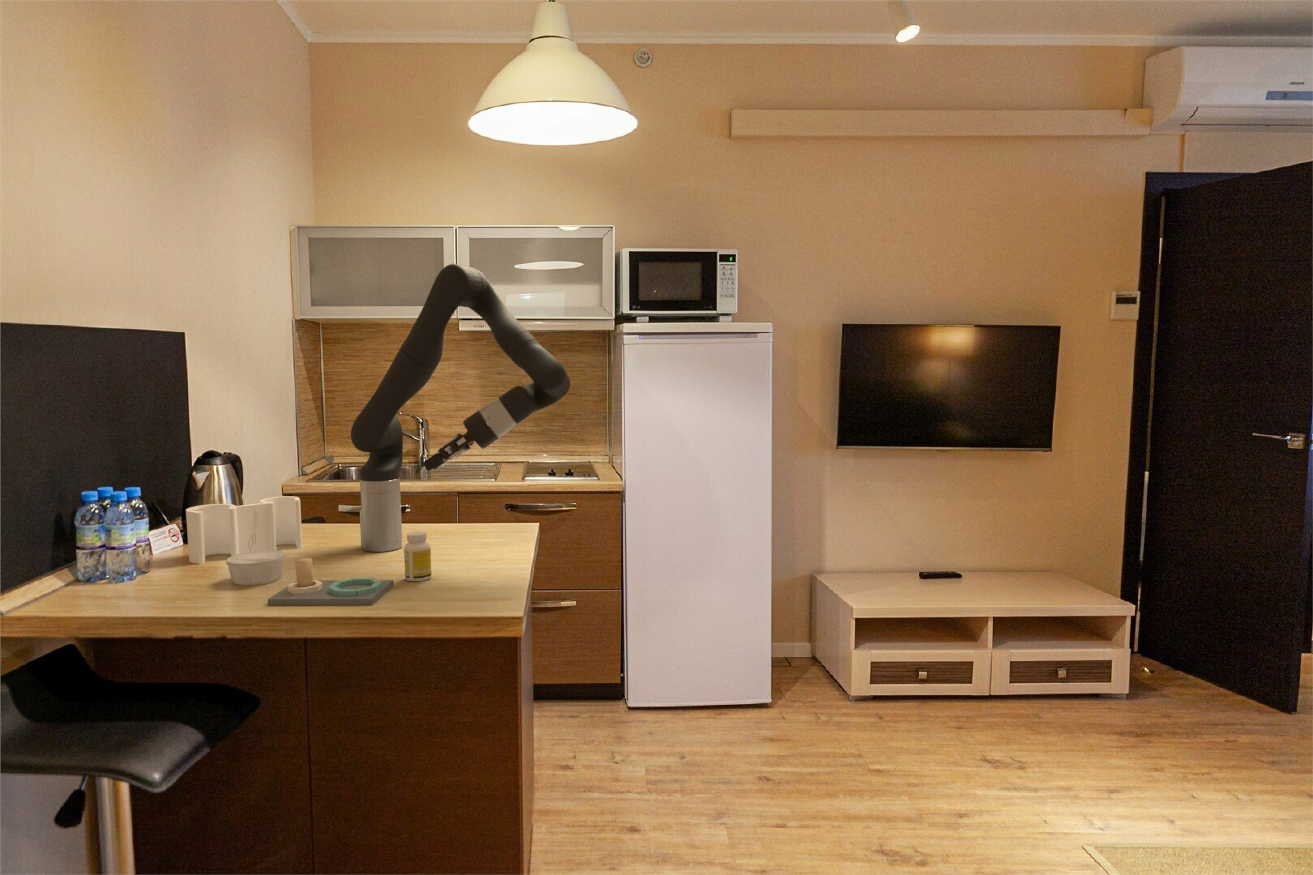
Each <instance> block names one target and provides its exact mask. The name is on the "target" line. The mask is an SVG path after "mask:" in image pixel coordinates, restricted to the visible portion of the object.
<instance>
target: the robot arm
mask: <svg viewBox="0 0 1313 875" xmlns="http://www.w3.org/2000/svg"><path fill="white" fill-rule="evenodd" d="M459 307H463V308H469V309H470V310H471V311H472V312H474V313H476V314H477V315H478V316H480V318H482V319H483V321H484V322H485V323H486V324H487V326H488V327H489V329H490V330H491V331H490V332H491V333H492V335H493V337H494V339H495V341H496V344H497V345H498V346H499V347H500V349H501V350H502V351H503V352H504V354H505V355H506V356H507V357H508V358H509V359H510V360H511V361H512V362H513V363H514V364H515V365H516V366H517V367H518V368H519V369H521V370H523V371H524V372H525V373H526V375H527V376H529V378H530V379H531V380H532V382H531V383H529V384H527V385H525V386H521V385H517V386H514V387H512V388H510V389H509V390H508V391H506V392H505V393H503V394H502V395H500V396H499V397H498V398H496V399H494V400H493V401H490V402H488V403H487V404H485V405H484V406H482V407H481V408H480V409H478V410H477V411H475V412H473V414H471V415H469V416H468V417H466V419H464V420H463V422H462V424H463V425H464V428H465V429H466V432H465V433H464V434H462V433H457V434H456V435H454V436H453V437H452V438H451V439H450V440H449V441H447V442H446V443H444V445H443V446H442V447H440V448H439V449H438V450H437V451H436V453H434V454H432V456H430V457H429V458H427V459H426V460H424V461H423V462H422V465H423V467H424V468H425V470H426V471H428V472H429V471H432V470H436V469H437V468H439V467H441V465H443V464H445V463H446V462H448V461H450V460H452V459H453V458H454V459H455V458H457V457H459V456H460V455H462V454H464V453H466V452H468V451H469V450H471V446H473V445H474V443H476V444H477V445H478V446H479V448H481V449H486V448H487V447H489V446H490V445H492V444H493V443H494V442H496V441H497V440H499V439H500V438H501V437H503V436H505V435H506V434H507V433H509V432H510V431H511V430H513V428H514V427H515V426H517V425H519V423H521V422H523V421H524V420H525V419H526V418H528V417H529V416H531V415H532V414H534V413H535V412H538V411H540V410H543V409H544V408H547V407H549V406H551V405H553V404H555V403H557V402H558V401H560V400H561V399H563V398H564V397H565V396H566V395H567V393H568V392H569V390H570V389H571V388H570V387H571V380H570V377H569V375H568V373H567V371H566V368H565V367H564V366H563V365H562V363H561V362H560V361H559V360H558V359H557V358H556V357H555V356H553V355H552V353H550V352H549V351H547V349H545V348H544V347H542V345H541V344H540V343H539V342H538V340H537V339H536V338H535V337H534V336H533V335H532V334H531V333H530V332H529V331H528V330H527V329H526V328H525V327H524V325H522V324H521V323H520V321H519V320H518V319H517V318H516V317H515V316H514V315H513V314H512V313H511V311H510V310H509V308H508V307H507V306H506V305H505V303H504V301H503V300H502V299H501V298H500V296H499V295H498V294H497V292H496V291H495V289H494V288H493V286H492V284H491V282H489V280H488V279H487V277H486V276H485V274H484V273H482V272H481V271H480V270H479V269H477V268H474V267H472V266H466V265H463V264H459V263H450V264H448V265H446V266H443V268H441V270H440V271H439V273H438V274H437V276H436V278H435V280H434V282H433V283H432V286H431V289H430V291H429V294H427V298H426V301H425V303H424V305H423V307H422V309H421V311H420V313H419V314H418V317H417V318H416V320H415V321H414V324H413V326H412V327H411V329H410V331H409V332H408V335H407V336H406V338H405V340H404V342H403V343H402V344H401V346H400V348H399V349H398V351H397V353H396V355H395V357H394V358H393V361H392V362H391V364H390V366H389V368H388V370H387V372H386V373H385V374H384V377H382V380H381V381H380V383H379V384H378V386H377V388H376V390H375V392H374V393H373V395H372V396H371V397H370V399H369V400H368V402H367V403H366V404H365V406H364V407H363V408H362V410H361V411H360V413H359V414H358V415H357V417H356V418H355V419H354V421H353V424H352V425H351V430H350V440H351V443H352V445H353V446H354V448H355V449H356V450H358V451H360V452H363V453H369V457H368V458H367V460H366V462H365V463H364V464H363V465H362V466H361V467H360V468H359V484H360V485H359V488H360V506H361V507H360V509H359V524H360V525H359V527H360V529H359V530H360V531H359V532H360V547H361V548H362V549H363V551H366V552H371V553H372V552H375V553H380V552H389V551H396V550H398V549H401V548H402V547H403V533H402V532H403V530H402V527H403V526H402V525H403V524H402V506H401V504H402V502H401V499H402V498H401V475H400V474H401V472H400V471H401V468H402V466H403V461H404V460H403V454H404V442H403V441H404V437H403V428H402V424H401V421H400V420H399V418H398V417H397V416H396V415H397V414H398V412H399V411H400V409H401V408H402V407H403V406H404V405H405V404H406V403H407V402H408V401H410V400H411V399H412V398H413V397H414V396H415V395H416V394H417V393H418V392H420V391H421V390H422V389H423V387H424V386H425V385H427V384H428V382H429V380H430V379H431V378H432V376H433V374H434V372H436V371H435V370H437V367H438V366H439V364H440V361H441V359H442V355H443V350H444V335H445V330H446V328H447V325H448V324H449V322H450V319H451V318H452V316H453V314H454V313H455V312H456V311H457V309H458V308H459Z"/></svg>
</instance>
